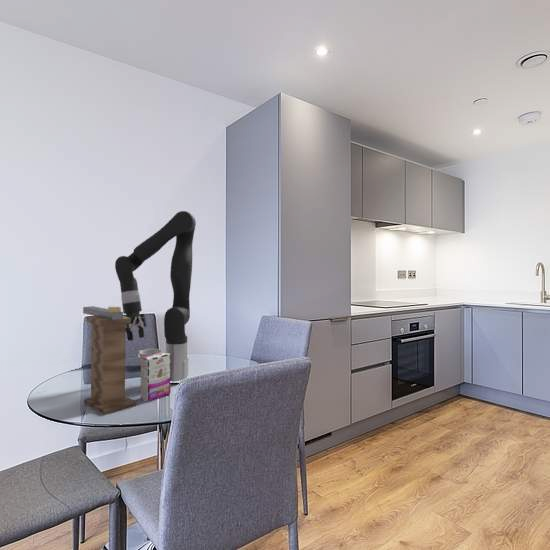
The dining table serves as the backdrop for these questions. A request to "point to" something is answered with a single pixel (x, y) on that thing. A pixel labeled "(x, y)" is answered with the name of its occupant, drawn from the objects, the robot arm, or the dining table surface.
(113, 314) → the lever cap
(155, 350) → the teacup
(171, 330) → the robot arm
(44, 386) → the dining table surface
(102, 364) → the stand
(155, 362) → the candy bar box
